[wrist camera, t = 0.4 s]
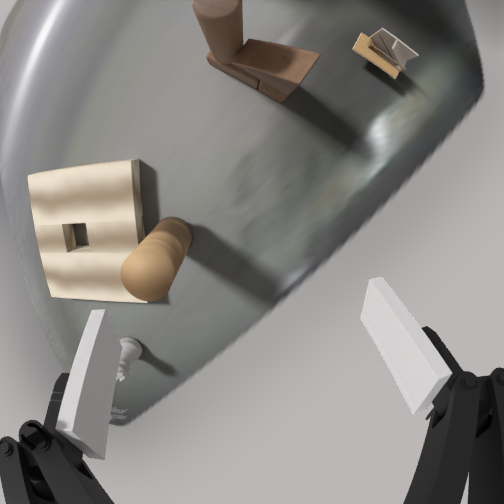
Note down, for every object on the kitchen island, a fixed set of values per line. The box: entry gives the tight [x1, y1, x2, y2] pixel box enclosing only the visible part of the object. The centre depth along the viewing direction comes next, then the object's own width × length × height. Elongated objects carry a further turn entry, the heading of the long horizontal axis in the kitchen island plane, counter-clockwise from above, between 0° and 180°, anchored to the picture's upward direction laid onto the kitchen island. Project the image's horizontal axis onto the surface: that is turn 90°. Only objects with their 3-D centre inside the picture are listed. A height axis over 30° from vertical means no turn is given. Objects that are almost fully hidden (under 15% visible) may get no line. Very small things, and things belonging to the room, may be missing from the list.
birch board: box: [28, 159, 148, 303], centre depth 38 cm, size 20×18×3 cm
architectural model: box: [352, 28, 418, 79], centre depth 29 cm, size 3×7×7 cm, turn 63°
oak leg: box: [120, 217, 193, 302], centre depth 33 cm, size 5×5×15 cm
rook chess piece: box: [116, 337, 142, 382], centre depth 44 cm, size 4×4×8 cm
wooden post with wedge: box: [193, 0, 321, 103], centre depth 24 cm, size 4×11×18 cm, turn 58°
